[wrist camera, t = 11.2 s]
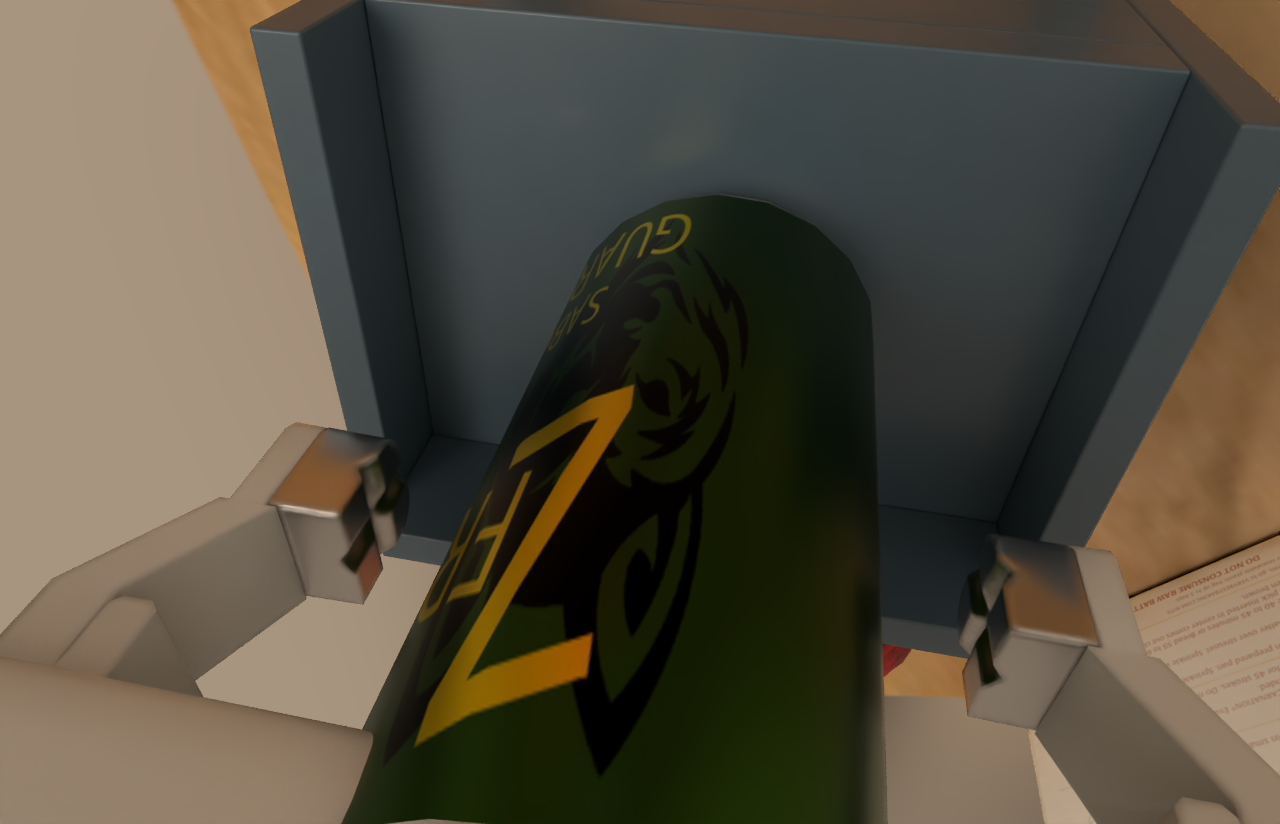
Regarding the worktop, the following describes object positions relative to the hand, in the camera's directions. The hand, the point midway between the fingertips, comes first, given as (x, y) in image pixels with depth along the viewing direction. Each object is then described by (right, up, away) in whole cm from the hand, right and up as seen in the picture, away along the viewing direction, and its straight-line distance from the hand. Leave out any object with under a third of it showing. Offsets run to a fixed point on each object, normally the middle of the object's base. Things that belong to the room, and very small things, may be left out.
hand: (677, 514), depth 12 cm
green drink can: (+1, +3, +4) cm, 6 cm away
